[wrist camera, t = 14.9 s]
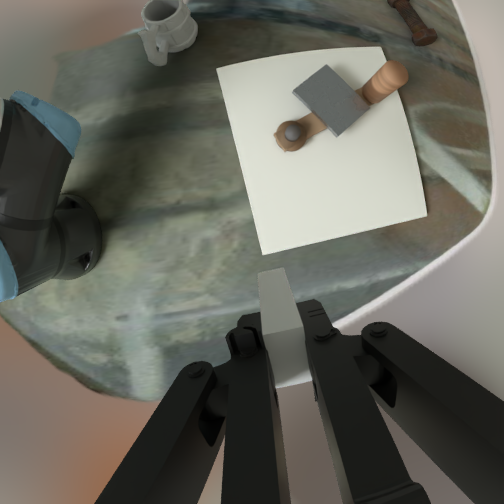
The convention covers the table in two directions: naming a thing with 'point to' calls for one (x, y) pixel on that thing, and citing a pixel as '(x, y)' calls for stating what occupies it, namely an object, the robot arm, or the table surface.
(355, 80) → the base plate
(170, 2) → the mug
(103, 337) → the table surface
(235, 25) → the table surface
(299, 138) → the link
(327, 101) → the block
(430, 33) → the bolt
